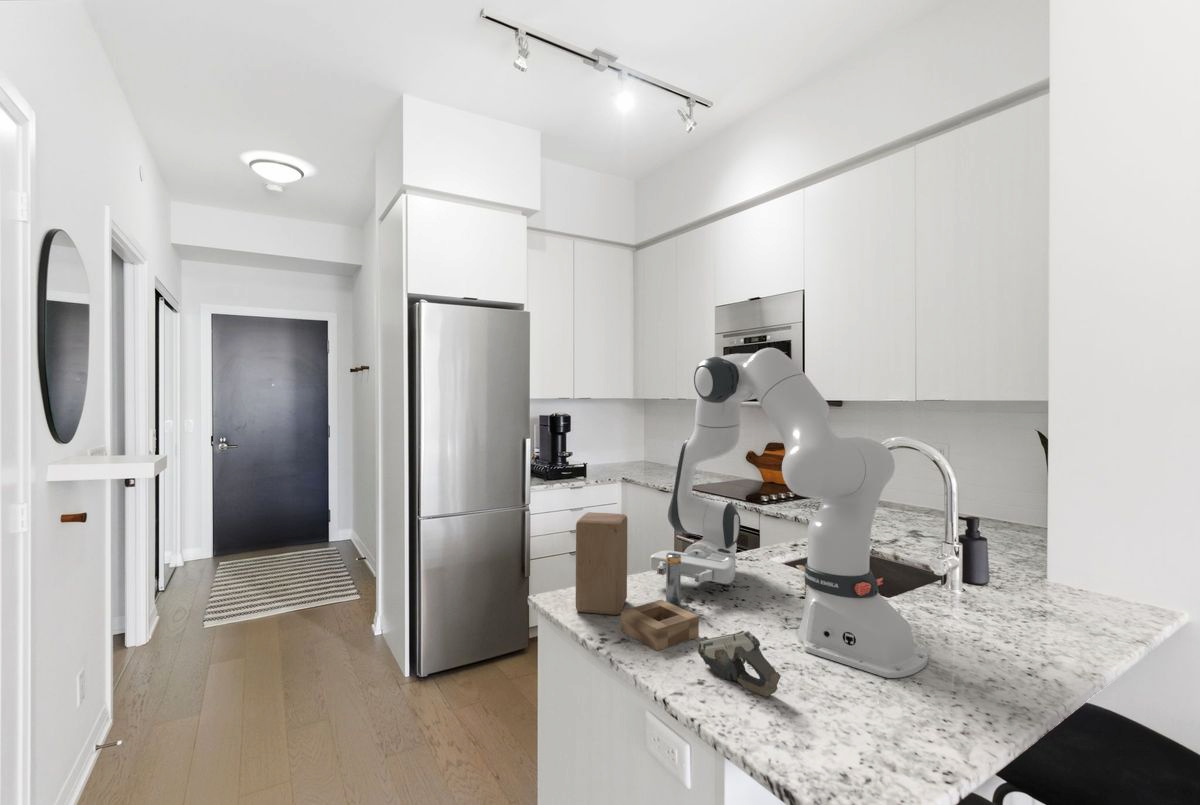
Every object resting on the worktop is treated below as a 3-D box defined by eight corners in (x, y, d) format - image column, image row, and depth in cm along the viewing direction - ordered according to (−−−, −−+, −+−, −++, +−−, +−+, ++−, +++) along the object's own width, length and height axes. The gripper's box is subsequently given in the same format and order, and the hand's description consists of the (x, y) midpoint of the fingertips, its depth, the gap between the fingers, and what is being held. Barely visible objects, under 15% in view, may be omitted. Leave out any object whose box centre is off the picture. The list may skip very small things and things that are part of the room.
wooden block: (620, 617, 122) (620, 523, 122) (574, 613, 124) (574, 520, 124) (627, 600, 132) (628, 513, 131) (584, 596, 134) (585, 511, 133)
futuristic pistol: (719, 696, 100) (700, 637, 103) (786, 690, 90) (763, 624, 93) (709, 701, 99) (690, 640, 102) (777, 695, 88) (753, 628, 91)
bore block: (698, 636, 113) (698, 616, 113) (657, 650, 106) (657, 629, 106) (661, 618, 122) (661, 599, 121) (621, 630, 115) (621, 610, 115)
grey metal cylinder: (683, 604, 129) (684, 556, 129) (672, 607, 127) (673, 558, 127) (673, 600, 132) (673, 552, 132) (662, 603, 130) (663, 554, 130)
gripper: (663, 541, 149) (638, 554, 137) (741, 553, 138) (720, 568, 126) (663, 565, 149) (638, 580, 137) (741, 580, 138) (720, 597, 126)
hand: (678, 575), depth 132 cm, fingers open, 8 cm apart
